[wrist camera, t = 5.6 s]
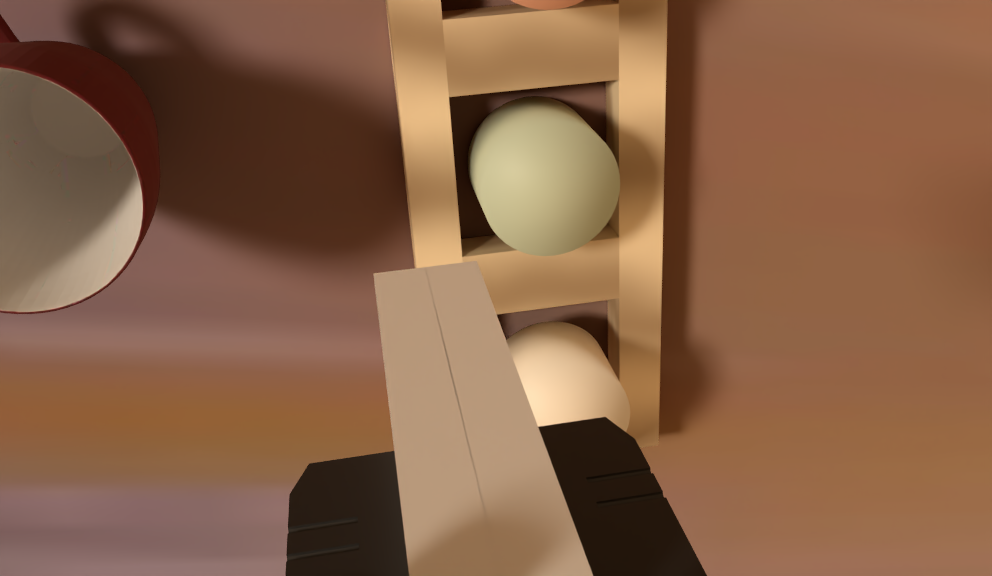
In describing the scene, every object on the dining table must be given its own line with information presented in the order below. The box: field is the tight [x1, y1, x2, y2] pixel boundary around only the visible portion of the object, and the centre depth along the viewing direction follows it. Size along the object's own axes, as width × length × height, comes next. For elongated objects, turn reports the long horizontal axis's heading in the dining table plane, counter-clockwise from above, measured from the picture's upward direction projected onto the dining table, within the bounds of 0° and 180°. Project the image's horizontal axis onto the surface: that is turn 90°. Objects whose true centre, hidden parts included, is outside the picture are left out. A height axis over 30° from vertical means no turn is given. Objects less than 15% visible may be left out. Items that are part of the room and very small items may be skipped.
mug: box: [0, 15, 160, 314], centre depth 32 cm, size 11×8×10 cm
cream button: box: [506, 321, 630, 432], centre depth 42 cm, size 6×6×4 cm
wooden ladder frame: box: [385, 0, 668, 448], centre depth 40 cm, size 30×11×2 cm, turn 3°
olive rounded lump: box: [468, 96, 620, 256], centre depth 38 cm, size 6×6×4 cm
